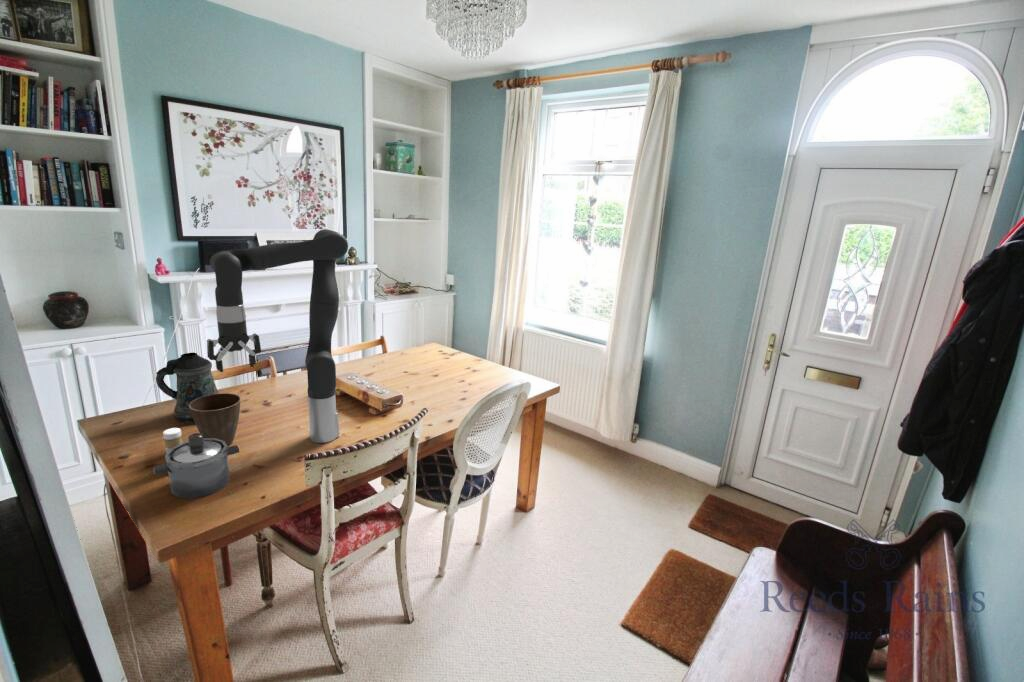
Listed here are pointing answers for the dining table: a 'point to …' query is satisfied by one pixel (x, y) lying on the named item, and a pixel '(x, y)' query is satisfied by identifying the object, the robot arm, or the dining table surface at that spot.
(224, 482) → the pot
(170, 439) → the sprinkles bottle
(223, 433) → the plant pot
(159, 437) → the dining table surface
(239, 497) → the dining table surface
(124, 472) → the dining table surface
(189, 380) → the beer stein
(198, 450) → the lid
